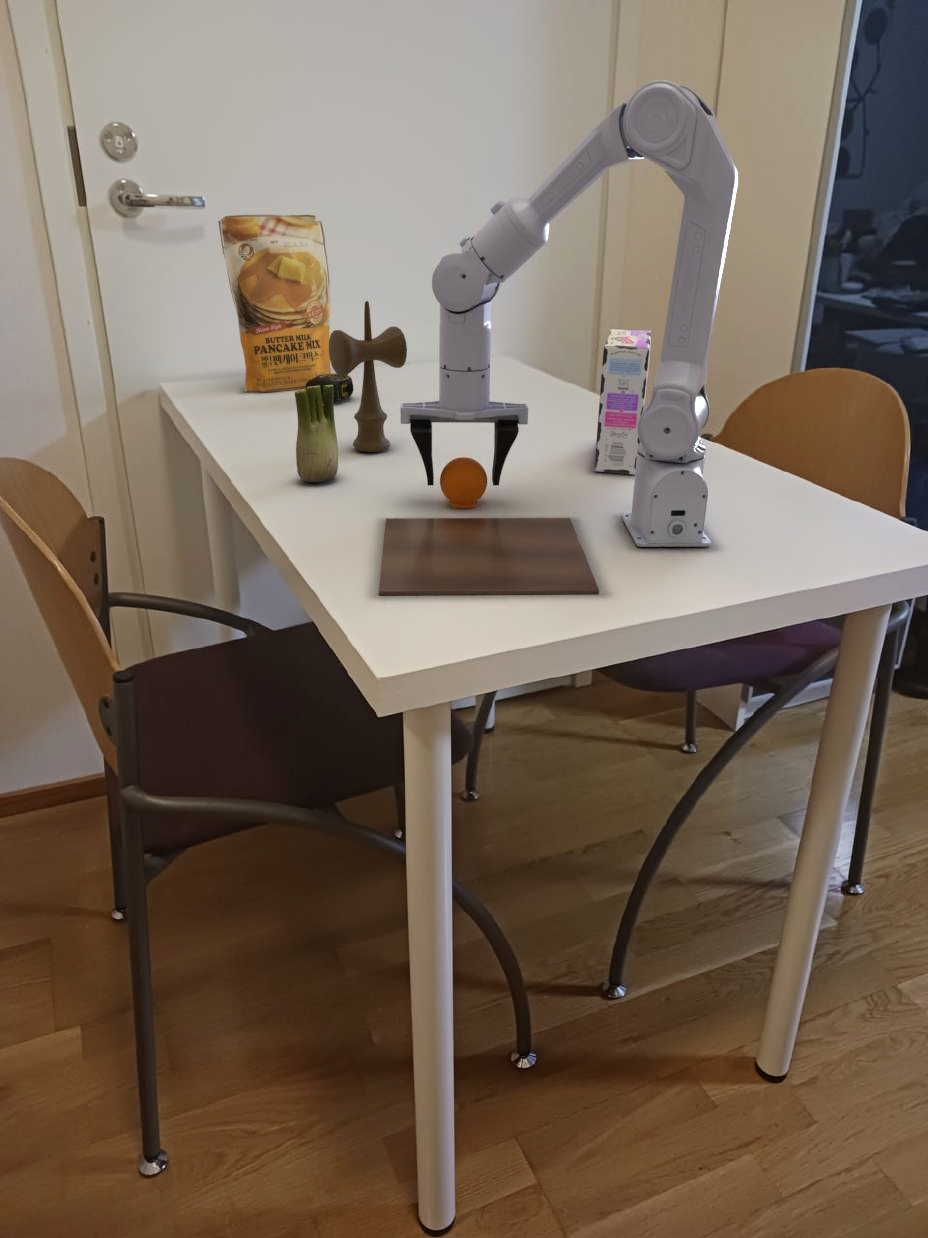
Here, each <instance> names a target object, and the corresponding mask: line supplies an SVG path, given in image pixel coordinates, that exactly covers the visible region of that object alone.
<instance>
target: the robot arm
mask: <svg viewBox="0 0 928 1238" xmlns="http://www.w3.org/2000/svg"><path fill="white" fill-rule="evenodd" d="M644 159H647V160H648V161H650V162H652V163H654V164H655V165H657V166H658V167H660V168H661V169H663V170H664V173H665V174H666V175H667V176H668V177H669V179H671V181H672V182H673V184H675V186H676V187H677V188H678V190H679V191H680V192H681V193H682V195H683V197H684V198H683V207H682V213H681V220H680V227H679V232H678V233H679V234H678V241H677V246H676V254H675V260H674V266H673V273H672V278H671V279H672V280H671V286H670V291H669V292H670V293H669V298H668V299H669V300H668V305H667V311H666V312H667V313H666V318H665V326H664V333H663V339H662V346H661V351H660V359H659V360H660V361H659V364H658V368H657V371H656V374H655V378H654V380H653V381H654V382H653V384H652V390H651V395H650V399H649V402H648V404H647V406H646V407H645V408H644V411H643V412H642V414H641V416H640V418H639V421H638V427H637V432H638V437H639V440H640V444H639V445H638V449H637V450H638V451H637V460H636V471H635V475H634V484H633V493H632V505H631V512H624V513H622V514H621V519H622V521H623V523H624V524H625V526H626V528H627V530H628V532H629V534H630V535H631V538H632V539H633V541H634V543H635V545H636V546H637V547H641V548H646V547H647V548H658V547H659V548H661V547H663V548H664V547H669V548H670V547H671V548H672V547H673V548H677V547H683V548H684V547H685V548H686V547H689V548H690V547H692V548H693V547H694V548H695V547H696V548H697V547H699V548H700V547H710V546H711V543H712V542H711V540H710V539H709V538H708V536H707V534H706V533H705V532H704V529H705V521H706V512H707V507H708V506H707V505H708V496H709V489H708V485H707V482H706V480H705V478H704V476H703V475H704V467H705V461H706V460H705V459H706V453H707V448H706V446H705V445H704V443H703V441H702V438H701V437H699V436H700V434H701V432H702V430H703V429H704V428H705V427H706V425H707V423H708V422H709V419H710V414H711V407H710V406H711V405H710V402H709V398H708V395H707V390H706V386H707V385H706V384H707V380H708V357H709V352H710V346H711V340H712V334H713V330H714V329H713V328H714V323H715V317H716V311H717V306H718V300H719V294H720V288H721V282H722V276H723V271H724V266H725V259H726V253H727V248H728V243H729V242H728V241H729V237H730V236H729V235H730V231H731V224H732V219H733V213H734V206H735V202H736V195H737V190H738V186H739V185H738V184H739V172H738V170H737V167H736V165H735V162H734V160H733V157H732V155H731V153H730V151H729V148H728V146H727V143H726V141H725V138H724V137H723V134H722V131H721V129H720V127H719V124H718V122H717V118H716V115H715V112H714V110H713V109H712V108H711V107H710V106H708V104H707V103H706V102H705V101H704V100H703V99H702V97H700V96H699V95H698V94H697V93H696V92H695V91H694V90H692V89H691V88H689V87H687V86H685V85H680V84H677V83H676V82H674V81H671V80H667V79H655V80H652V81H648V82H646V83H644V84H642V85H641V86H640V87H638V88H637V89H636V90H635V92H633V94H632V95H631V96H630V98H629V100H628V101H627V102H622V103H620V104H618V105H617V106H616V107H615V108H613V109H612V110H611V111H610V112H609V113H608V114H607V115H606V116H604V118H603V119H601V120H600V122H599V123H598V124H596V126H594V127H593V129H592V130H591V131H590V132H589V133H588V134H587V135H586V136H585V137H584V138H583V140H581V141H580V143H579V144H578V145H577V146H576V147H575V148H574V149H573V150H572V151H571V152H570V153H569V154H568V155H567V156H566V157H565V159H564V160H562V162H560V164H559V165H558V166H557V167H556V168H555V169H554V170H553V171H552V172H551V173H550V174H549V176H547V177H546V179H544V181H542V183H541V184H540V185H539V186H538V187H537V188H536V189H535V190H534V192H532V194H531V195H530V196H529V197H518V196H517V197H516V196H513V197H510V198H509V199H508V200H507V201H506V202H504V201H503V200H501V201H500V200H499V201H496V202H495V204H494V205H493V206H492V207H491V208H490V212H491V213H492V216H491V217H490V218H489V219H488V220H487V221H486V222H485V223H484V224H483V225H482V226H480V228H479V229H478V230H476V231H475V233H473V234H472V236H471V237H470V236H469V235H468V236H464V237H463V239H461V240H460V241H459V246H460V247H461V250H460V251H461V252H453V253H449V254H446V255H444V256H442V257H441V259H440V260H439V262H438V264H437V266H436V267H435V269H434V271H433V273H432V277H431V289H432V293H433V296H434V297H435V299H436V301H437V302H438V303H439V340H438V341H439V343H438V344H439V348H438V349H439V352H438V353H439V362H438V363H439V367H438V368H439V369H438V370H439V371H438V372H439V374H438V375H439V376H438V378H439V379H438V380H439V381H438V385H439V387H438V389H439V390H438V392H439V393H438V394H439V395H438V396H439V397H438V400H435V401H422V402H421V401H420V402H401V403H400V408H399V409H400V424H401V425H409V426H410V427H409V431H410V434H411V436H412V439H413V441H414V443H415V445H416V448H417V450H418V451H419V454H420V457H421V460H422V463H423V466H424V471H425V473H426V481H427V486H434V485H435V484H434V481H435V478H434V461H433V423H453V424H454V423H455V424H456V423H458V424H460V423H467V424H468V423H469V424H471V423H476V424H477V423H479V424H481V423H482V424H484V423H486V424H487V423H489V424H492V423H493V424H494V427H493V428H494V430H493V431H494V433H493V435H494V436H493V438H494V439H493V441H494V443H493V450H494V451H493V459H492V460H493V461H492V469H491V482H492V486H500V480H501V476H502V471H503V469H504V466H505V463H506V460H507V457H508V455H509V453H510V450H511V449H512V446H513V444H514V443H515V441H516V440H517V437H518V434H519V431H520V429H519V425H528V423H529V406H528V404H527V403H513V402H503V401H501V402H500V401H491V400H490V392H491V349H492V348H491V346H492V301H493V300H494V299H495V297H496V296H497V294H498V293H499V291H500V287H501V284H503V283H506V281H508V280H509V278H511V276H513V275H514V274H515V273H516V272H517V271H518V270H519V269H521V268H522V266H523V265H524V264H526V262H528V261H529V260H530V259H531V258H532V257H533V256H534V255H535V254H536V253H537V252H538V251H539V250H540V249H541V248H543V247H544V246H545V245H546V244H547V242H548V241H549V240H548V239H549V233H550V232H549V231H550V224H551V222H552V220H554V219H555V218H556V217H557V216H558V215H559V214H560V213H562V212H563V211H564V210H565V209H566V208H567V207H568V206H570V205H571V204H572V203H573V202H574V201H575V200H576V199H577V198H578V197H580V196H581V195H582V194H583V193H585V191H586V190H587V189H589V188H590V187H591V186H592V185H593V184H594V183H595V182H597V180H599V179H600V178H601V177H602V176H603V175H604V174H606V172H608V171H609V170H610V169H612V168H614V167H618V166H621V165H625V164H629V163H634V162H638V161H641V160H644Z"/></svg>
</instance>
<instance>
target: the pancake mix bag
mask: <svg viewBox="0 0 928 1238" xmlns="http://www.w3.org/2000/svg"><path fill="white" fill-rule="evenodd" d="M217 223H218V229H219V237H220V241H221V242H220V243H221V248H222V249H221V250H222V255H223V258H224V260H225V266H226V272H227V278H228V283H229V284H228V285H229V288H230V293H231V298H232V301H233V304H234V308H235V311H236V315H237V322H238V330H239V338H240V339H239V340H240V345H241V348H242V353H243V357H244V365H245V377H244V378H245V379H244V386H243V387H244V388H243V392H254V393H271V392H283V391H293V390H302V389H306V383H307V382H308V381H309V380H311V379H313V378H315V377H317V376H319V375H323V374H332V371H331V361H330V357H329V339H330V335H331V293H330V292H331V291H330V283H331V282H330V281H331V280H330V272H329V264H328V256H327V250H326V238H325V237H326V236H325V231H324V226H323V221H322V220H316V215H315V214H314V215H313V214H291V215H290V214H289V215H288V214H287V215H281V214H279V215H278V214H237V215H235V214H234V215H225V216H223V217H222V218H221V219H219V220H218V222H217Z"/></svg>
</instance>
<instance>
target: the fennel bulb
mask: <svg viewBox="0 0 928 1238" xmlns="http://www.w3.org/2000/svg"><path fill="white" fill-rule="evenodd" d="M333 388H334V387H333V385H325V386H323V399H322V395H321V388H320V385H319V386H311V387H307V388H301V389H297V390H295V392H294V397H295V404H296V411H297V412H296V414H297V434H296V442H295V444H296V445H295V459H296V461H295V462H296V471H297V475H298V477H299V478H300V479H302V480H303V481H305V482H306V483H311V484H313V483H321V482H326V481H331V480H333V479H335V478H336V476H337V474H338V471H339V470H338V469H339V447H338V437H337V429H336V423H335V421H336V420H335V404H334V402H335V401H334V397H333V396H334V395H333V392H334V391H333V390H334V389H333Z"/></svg>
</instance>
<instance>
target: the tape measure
mask: <svg viewBox="0 0 928 1238" xmlns="http://www.w3.org/2000/svg"><path fill="white" fill-rule="evenodd" d="M319 385H320V388H321V395H322V400H323V386H325V385H333V387H334V388H333V389H334V390H333V391H334V392H333V395H334V396H333V397H334V402H339V401H341V400H345V399H349V398H350V397H352V395H353V394H354V393H353V392H354V383H353V378H352V377H351V376H350V375H349V374H348V375H347V376H339V375H338V374H337V373H336V372H335V373H331V374H323V375H319V376H317V377H315V378H313V379H311V380H309V381H308V382H307V383H306V388H307V387H311V386H319ZM306 388H305V389H306Z"/></svg>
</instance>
